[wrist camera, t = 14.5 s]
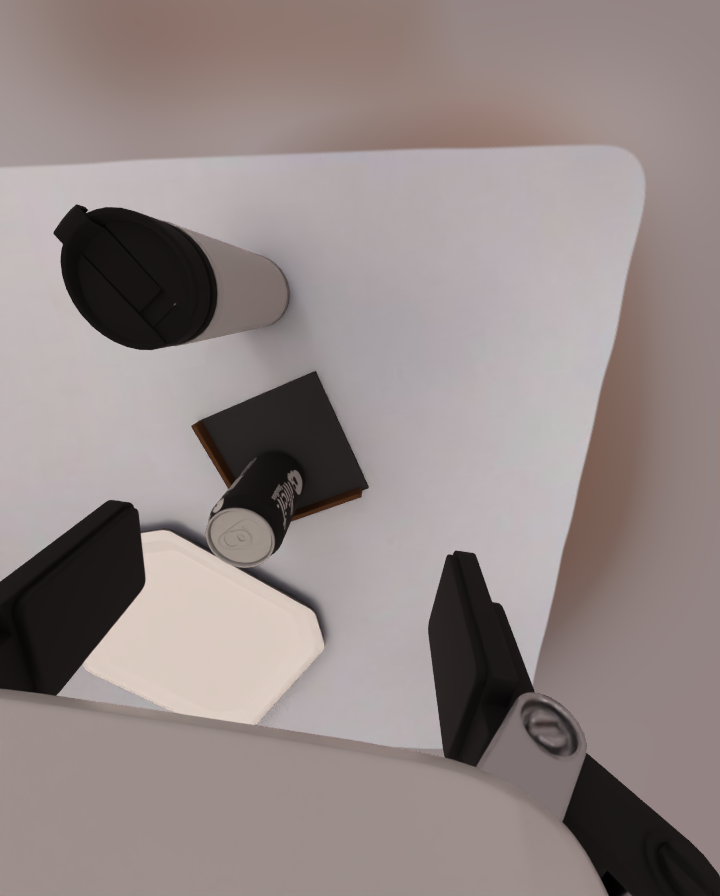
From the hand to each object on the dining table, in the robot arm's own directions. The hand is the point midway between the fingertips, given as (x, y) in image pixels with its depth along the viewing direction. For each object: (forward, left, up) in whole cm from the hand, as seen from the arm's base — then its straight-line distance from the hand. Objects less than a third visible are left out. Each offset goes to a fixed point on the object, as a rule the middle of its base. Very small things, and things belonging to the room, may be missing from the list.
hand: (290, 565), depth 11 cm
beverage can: (+7, -12, -29) cm, 32 cm away
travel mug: (-11, -5, -29) cm, 32 cm away
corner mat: (+5, -10, -29) cm, 31 cm away
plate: (+24, -33, -29) cm, 50 cm away
